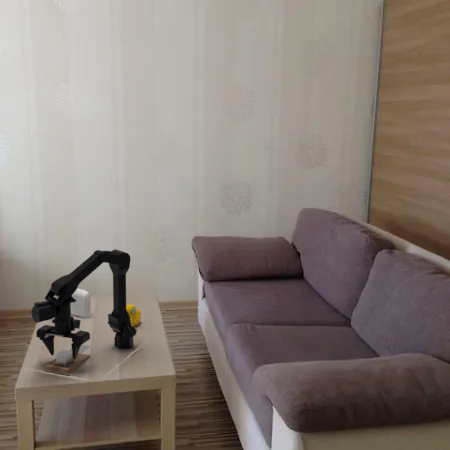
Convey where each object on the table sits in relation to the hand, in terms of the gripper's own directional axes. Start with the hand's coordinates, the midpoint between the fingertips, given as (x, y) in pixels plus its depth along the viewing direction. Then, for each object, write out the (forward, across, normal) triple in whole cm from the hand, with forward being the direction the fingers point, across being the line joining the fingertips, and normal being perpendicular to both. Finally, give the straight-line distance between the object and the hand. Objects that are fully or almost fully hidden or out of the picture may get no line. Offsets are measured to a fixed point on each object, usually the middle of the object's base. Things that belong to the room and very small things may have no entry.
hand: (63, 356), depth 205 cm
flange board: (+4, 0, -2) cm, 5 cm away
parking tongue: (+4, +3, -14) cm, 15 cm away
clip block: (+5, 0, 0) cm, 5 cm away
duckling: (+5, -4, -46) cm, 46 cm away
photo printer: (+5, +23, -48) cm, 54 cm away
